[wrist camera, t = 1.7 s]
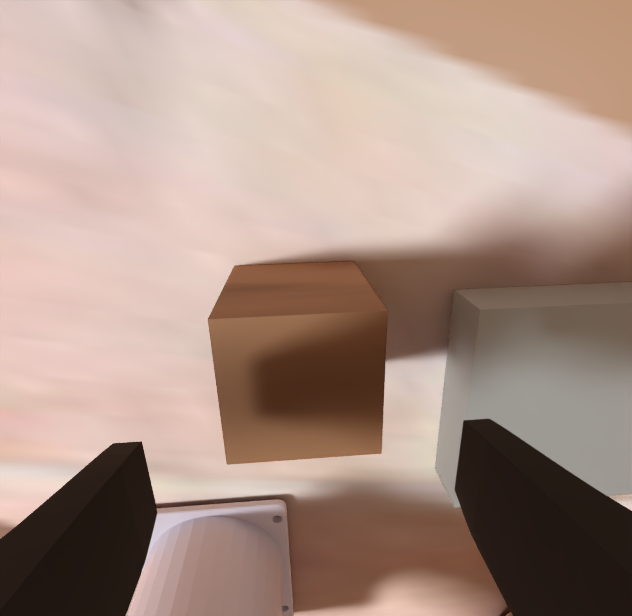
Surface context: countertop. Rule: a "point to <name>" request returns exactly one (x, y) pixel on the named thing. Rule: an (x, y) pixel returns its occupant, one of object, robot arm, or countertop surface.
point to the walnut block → (299, 362)
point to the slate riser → (544, 376)
